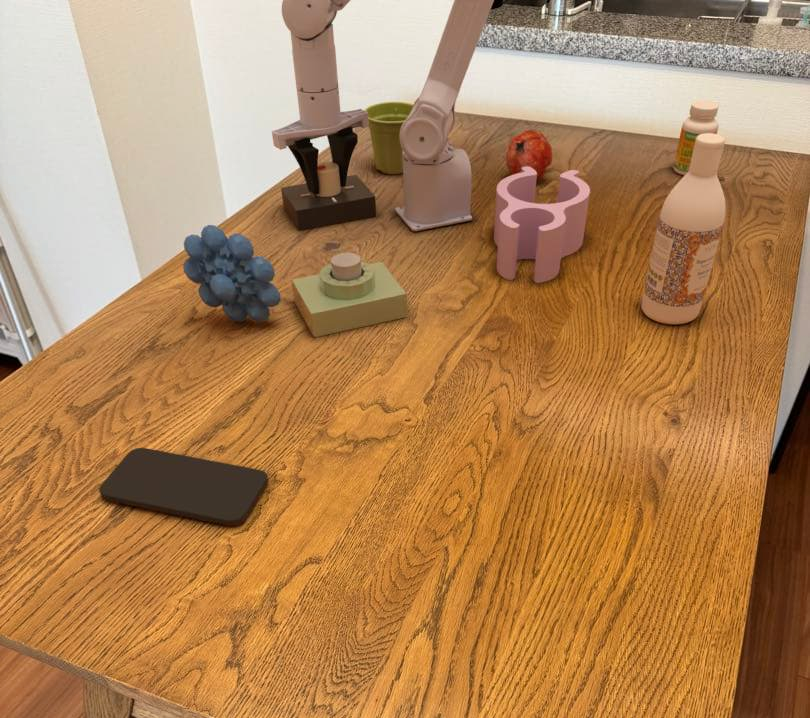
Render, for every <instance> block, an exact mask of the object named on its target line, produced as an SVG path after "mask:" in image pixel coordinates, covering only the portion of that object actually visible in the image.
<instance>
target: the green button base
mask: <svg viewBox="0 0 810 718" xmlns="http://www.w3.org/2000/svg"><path fill="white" fill-rule="evenodd" d="M361 267H362V276H361V277H360V278H358V279H356V280H351V281H338V280H336V279H333V277H332V267H331V262H330V263H328V264H327V265H325V266H324V267H322V268H321V270H320V272H319V273H318V274H313V275H307V276H303V277H302V276H301V277H298V278H294V279H293V278H292V279H291V285H292V292H293V300H294V304H295V306H296V308H297V309H298V311H299V313H300V314H301V316H302V319H303V320H304V322H305V324H306V325H307V327H308V329H309V331H310V333H311V334H312V336H313V338H318V337H324V336H327V335H331V334H337V333H341V332H346V331H350V330H356V329H359V328H364V327H369V326H374V325H377V324H382V323H386V322H391V321H396V320H400V319H404V318H405V319H406V318H408V296H407V295H408V293H407V292H406V291H405V289H404V288H403V287H402V285H401V284H400V283H399V281H398V280H397V279H396V278H395V276H394V275H393V274H392V273H391V271H390V270H389V268H388V267H387V266H386V265H385V263H384V262H383V261H377V262H372V263H367V262H365V261H362V260H361Z"/></svg>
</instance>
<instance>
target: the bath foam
mask: <svg viewBox="0 0 810 718" xmlns="http://www.w3.org/2000/svg"><path fill="white" fill-rule="evenodd" d="M725 143H726V138H725V137H724V136H723V135H721V134H718V133H717V134H713V133H705V134H700V135H698V136H697V138H696V141H695V145H694V149H693V154H692V158H691V163H690V168H689V172H688V173H687V174H686V175H685V176H684V175H683V177H682V178H681V179H680V180H679V181H678V182H677V183H676V184H675V185H674V187H673V188H672V189H671V191H670V192H669V194H668V195H667V196H666V197H665V199H664V202H663V204H662V207H661V209H660V213H659V215H658V222H657V226H656V231H655V235H654V236H655V237H654V240H653V245H652V250H651V256H650V260H649V265H648V270H647V275H646V279H645V284H644V288H643V293H642V299H641V305H640V306H641V310H642V312H643V314H644V315H645V316H646V317H647V318H649V319H651V320H652V321H655V322H658V323H660V324H666V325H684V324H687V323H689V322H692V321H694V320H695V319H697V317H698V316H699V315H700V312H701V308H702V305H703V300H704V299H705V294H706V291H707V287H708V283H709V280H710V276H711V272H712V269H713V265H714V262H715V257H716V253H717V250H718V248H719V247H718V246H719V243H720V240H721V236H722V231H723V228H724V224H725V219H726V210H727V209H726V207H727V206H726V198H725V194H724V190H723V188H722V185H721V182H720V180H719V178H718V171H719V166H720V163H721V159H722V155H723V151H724V147H725Z"/></svg>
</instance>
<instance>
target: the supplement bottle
mask: <svg viewBox="0 0 810 718" xmlns="http://www.w3.org/2000/svg"><path fill="white" fill-rule="evenodd" d="M718 111H719V104H718V103H717V102H714V101H711V100H695V101H693V102H692V103H691V105H690V109H689V116H688V117H686V118H685V119H684V120H683V122H682V124H681V125H682V126H681V130H680V132H679V133H680V134H679V138H678V144H677V147H676V153H675V157H674V162H673V171H674V172H675V173H677V174H679V175H681V176H683V177H684V176H685V175H686V174H687V173H688V172H689V168H690V163H691V158H692V154H693V149H694V145H695V141H696V138H697V136H698V135H700V134H705V133H713V134H718V131H719V125H720V124H719V122H718V120H717V119H716V117H717V115H718Z"/></svg>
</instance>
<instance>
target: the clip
mask: <svg viewBox="0 0 810 718" xmlns="http://www.w3.org/2000/svg"><path fill="white" fill-rule="evenodd" d="M579 174H580V171H579V170H576V169H570V170H567V171H565V172H562V173H561V174H559V179H558V187H557V196H556V197H557V198H556V202H554V203H535V199H536V188H537V181H536V179H537V172H536V171H535V170H534V169H533V168H531V167H529V166H526V167H522V170H521V173H518V174H514V175H512V174H510V175H509V176H506V177H504V178H503V179H501V180H500V181H499V182H498V183H497V185H496V193H495V211H494V226H493V227H494V228H493V241H494V245H496V247H497V257H496V271H497V273H498V275H499V276H500V277H502V278H504V279H506V280H508V281H512V280H515V279H516V275H517V274H516V273H517V262H518V260H535V262H534V272H533V282H534V283H535V284H541V283H545V282H549V281H551V280H553V279H555V278H557V276H558V275H559V273H560V270H561V269H560V268H561V259H562V258H564V257H568V256H570V255H573V254H574V253H576V252H577V251H579V249H581V247H582V245H583V243H584V237H585V230H586V229H585V228H586V222H587V215H588V209H589V201H590V194H591V188H590V186H589V185H588V183H587V182H586V181H584V180H583V179H582V178H580V177H579V176H580V175H579Z"/></svg>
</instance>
